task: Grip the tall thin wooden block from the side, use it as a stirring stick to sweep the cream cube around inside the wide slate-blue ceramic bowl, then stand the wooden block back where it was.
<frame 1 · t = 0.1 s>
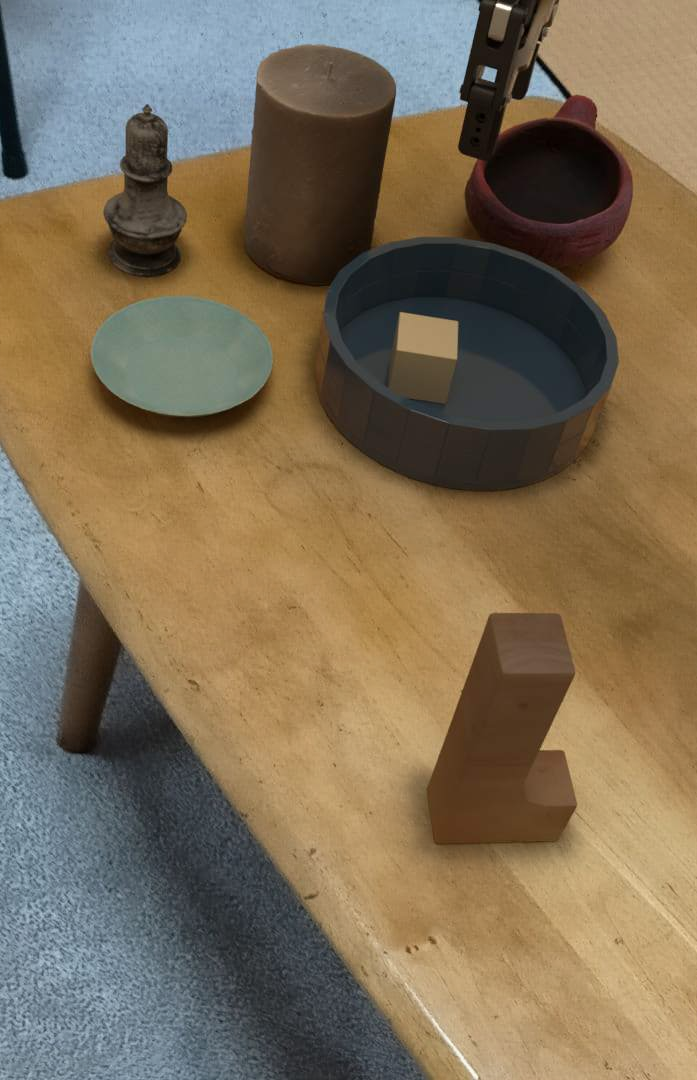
hand: (492, 123, 79), 16 cm above the table, tool pointing down, fingers open, 8 cm apart
cube: (417, 380, 84), point 1 cm above the table, touching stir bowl
bowl: (527, 234, 100), on the table
saucer: (181, 380, 83), on the table
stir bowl: (455, 388, 86), on the table
salt shaker: (144, 256, 91), on the table
wooden block: (491, 816, 64), on the table
pillar candle: (305, 248, 94), on the table
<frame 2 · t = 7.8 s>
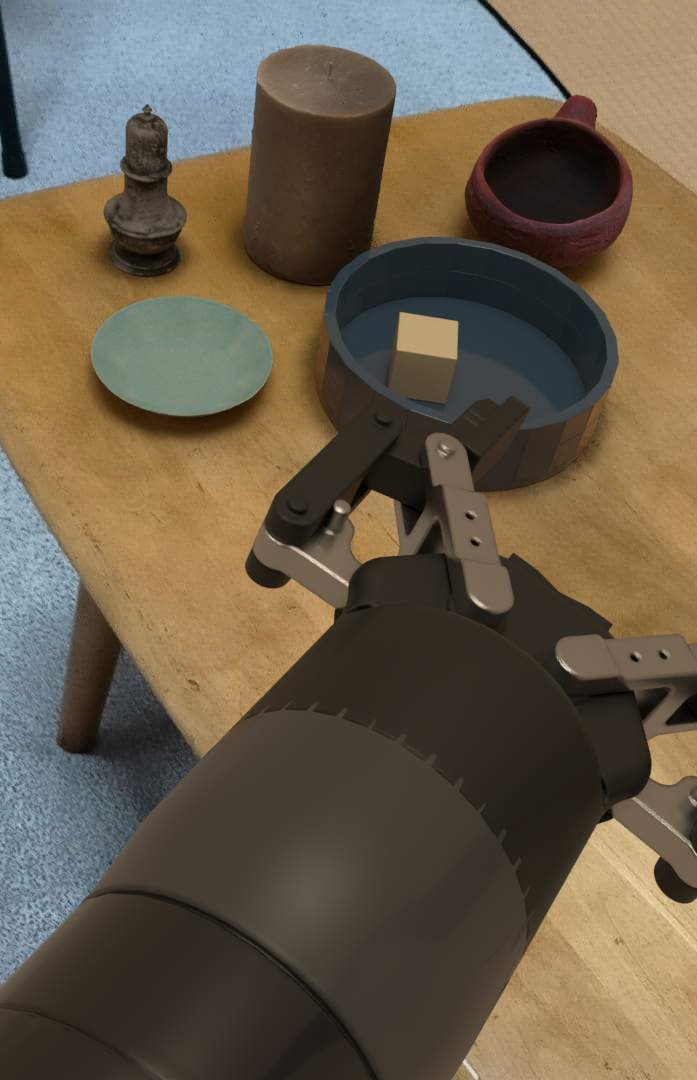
hand: (626, 504, 37), 30 cm above the table, tool horizontal, fingers open, 8 cm apart
nothing on the table moved.
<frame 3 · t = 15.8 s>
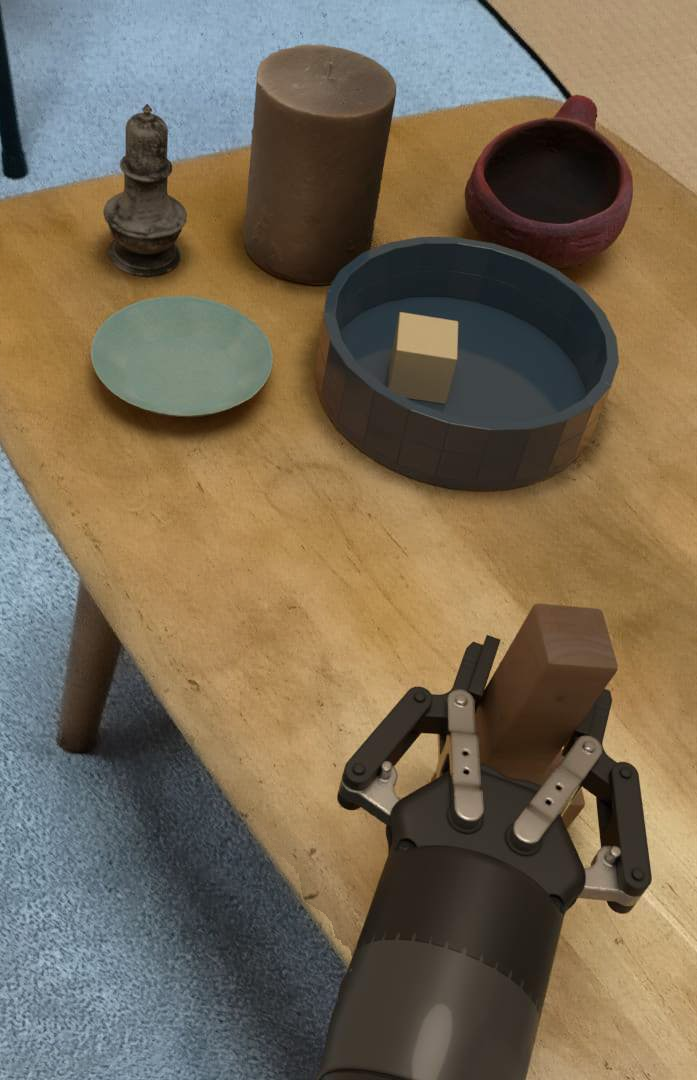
hand: (539, 666, 59), 9 cm above the table, tool horizontal, fingers closed on wooden block, 4 cm apart
wooden block: (492, 812, 64), on the table, touching gripper
everything else where it was.
when the fingers open (9 cm above the table, at t = 41.6 s): wooden block stays where it is, on the table.
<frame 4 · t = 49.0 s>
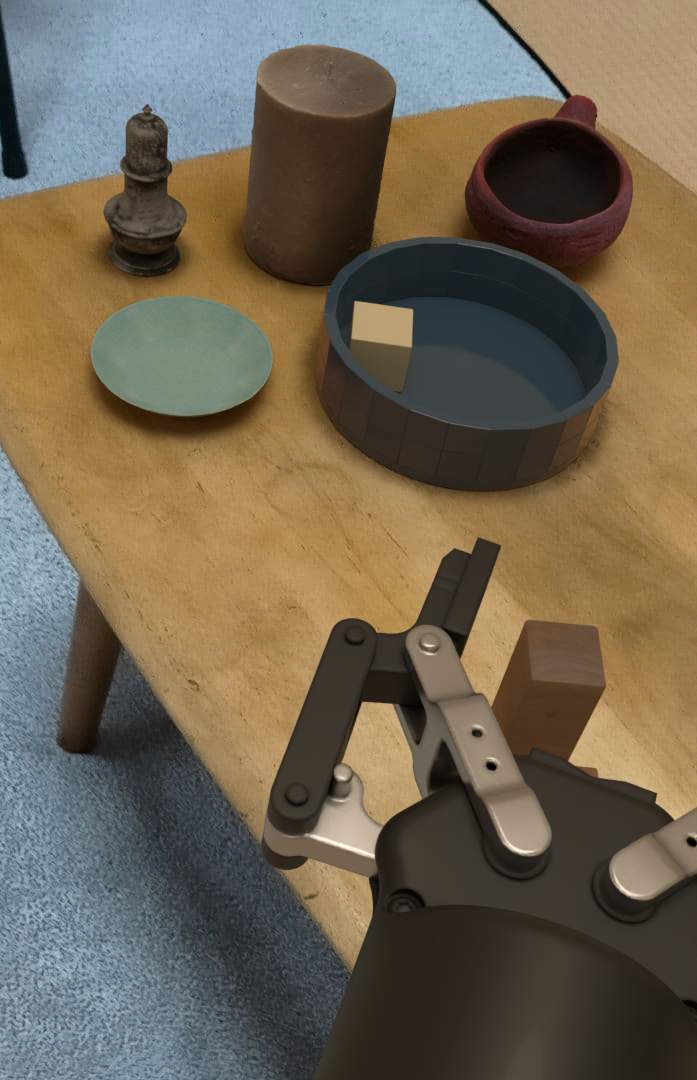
hand: (628, 611, 34), 30 cm above the table, tool horizontal, fingers open, 8 cm apart
cube: (373, 369, 84), point 1 cm above the table, touching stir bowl
wooden block: (518, 828, 64), on the table
everything else where it was.
at the end: cube moved 3.1 cm from its start; cube inside the target area in the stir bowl (5.9 cm from its centre), point 0.8 cm above the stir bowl's base; wooden block inside the target area (1.5 cm from its centre), on the table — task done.
